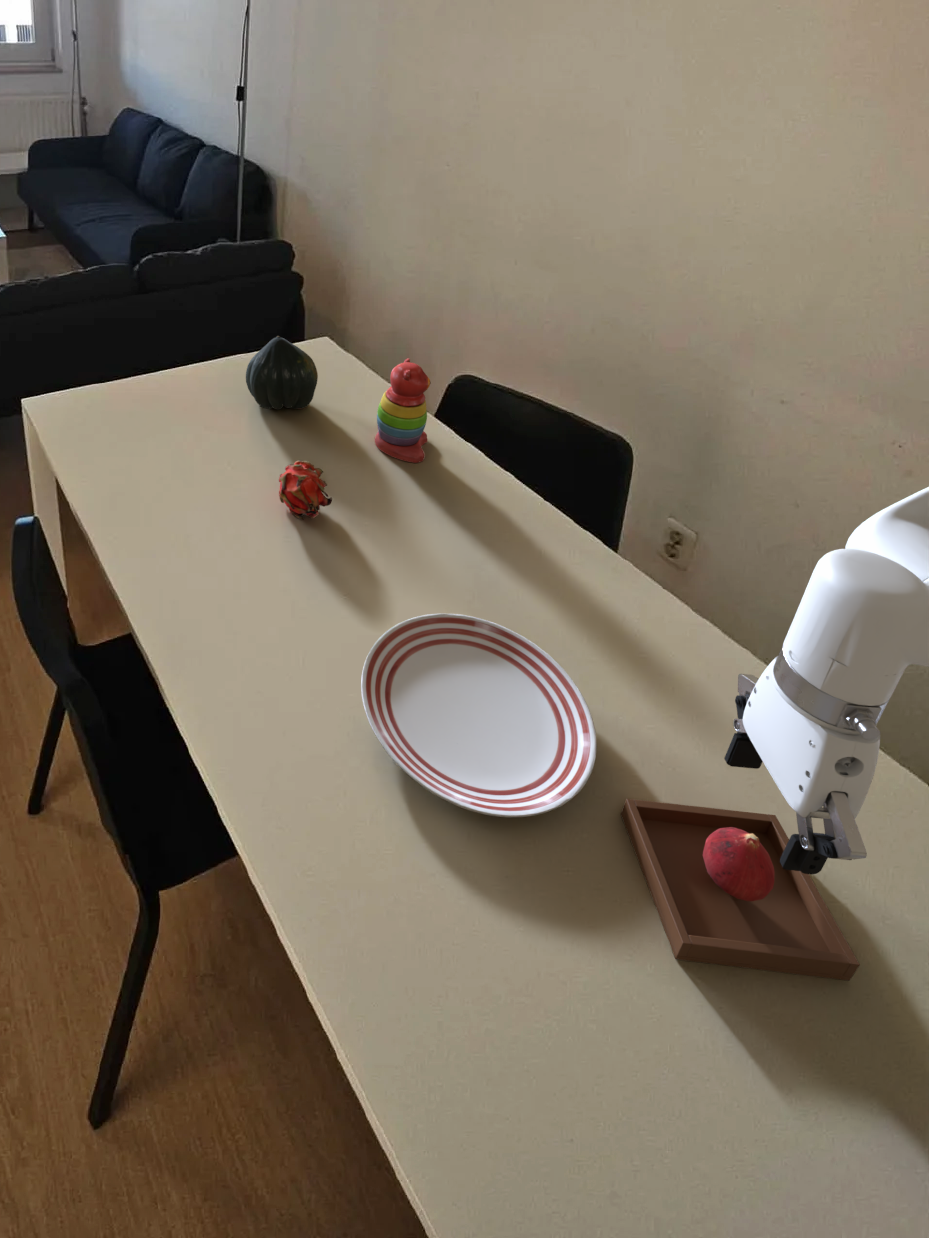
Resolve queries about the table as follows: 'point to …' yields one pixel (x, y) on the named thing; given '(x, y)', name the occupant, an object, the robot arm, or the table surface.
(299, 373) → the squash
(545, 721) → the dinner plate
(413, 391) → the stacking bear
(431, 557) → the table surface
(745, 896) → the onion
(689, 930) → the tray
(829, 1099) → the table surface
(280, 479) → the dragon fruit
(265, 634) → the table surface
